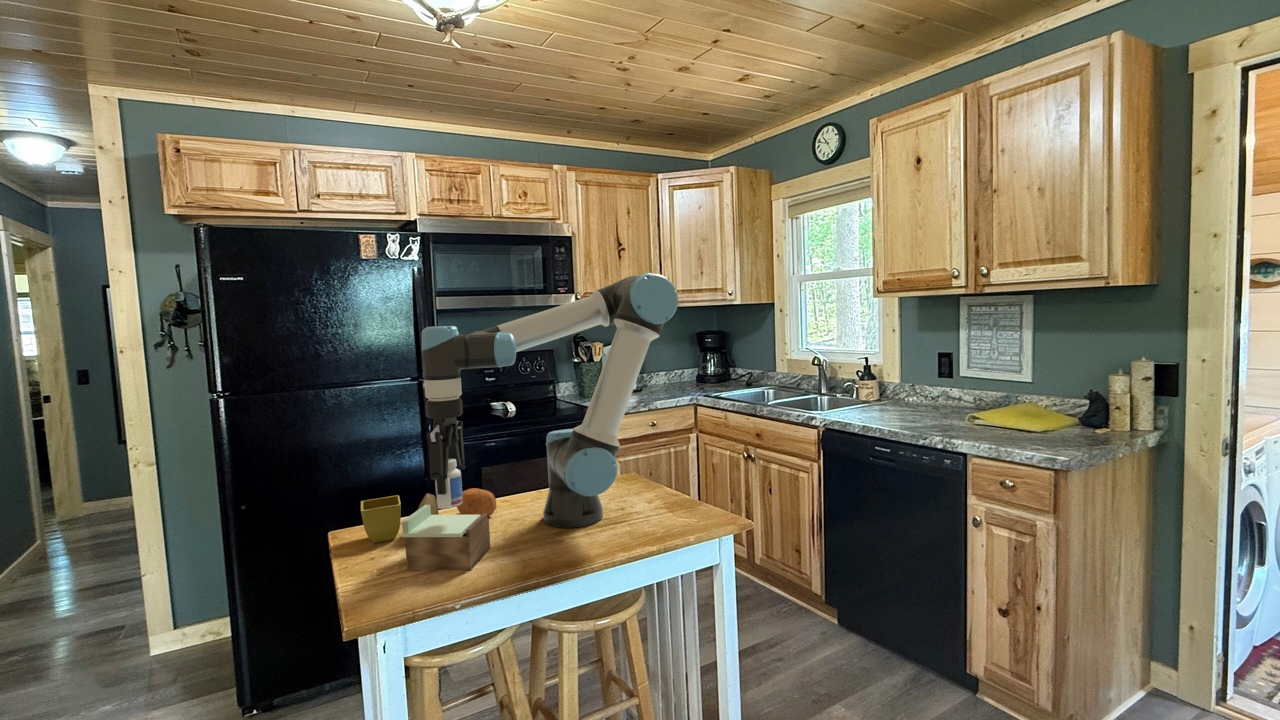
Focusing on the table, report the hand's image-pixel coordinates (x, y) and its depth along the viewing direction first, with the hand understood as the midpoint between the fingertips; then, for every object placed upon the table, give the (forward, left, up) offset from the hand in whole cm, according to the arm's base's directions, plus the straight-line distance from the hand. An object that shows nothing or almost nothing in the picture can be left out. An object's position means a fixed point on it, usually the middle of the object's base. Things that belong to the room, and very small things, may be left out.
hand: (450, 503), depth 137 cm
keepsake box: (+1, 0, -13) cm, 13 cm away
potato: (+6, -28, -13) cm, 31 cm away
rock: (+13, -13, -13) cm, 22 cm away
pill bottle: (0, 0, -1) cm, 1 cm away
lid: (+2, 0, -5) cm, 6 cm away
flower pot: (+23, -12, -13) cm, 29 cm away
